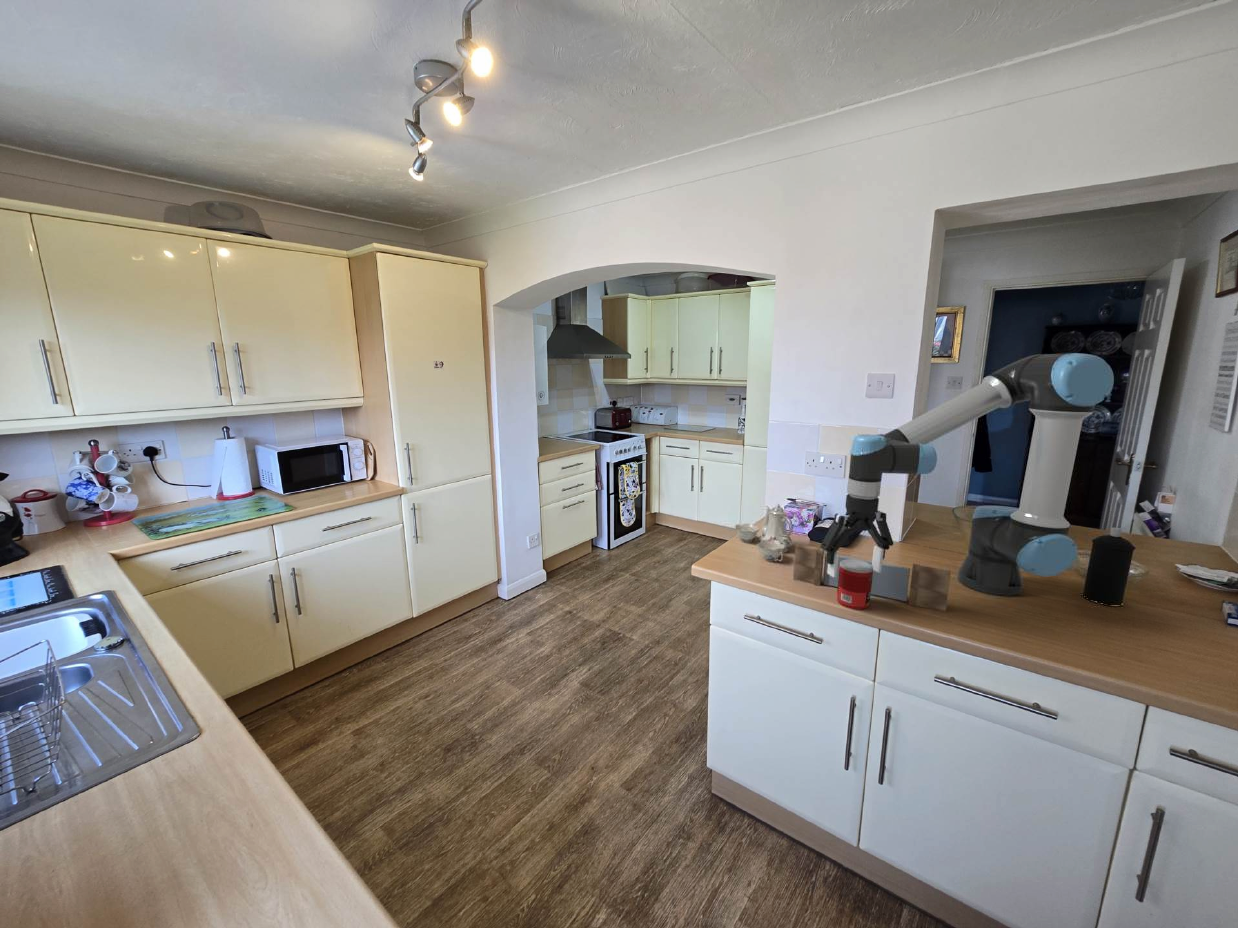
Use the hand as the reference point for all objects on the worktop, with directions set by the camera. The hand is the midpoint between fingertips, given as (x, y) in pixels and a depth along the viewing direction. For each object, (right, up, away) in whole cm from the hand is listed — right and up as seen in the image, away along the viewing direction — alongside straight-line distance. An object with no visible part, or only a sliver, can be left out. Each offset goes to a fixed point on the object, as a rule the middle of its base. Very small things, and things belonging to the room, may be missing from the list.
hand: (854, 573), depth 131 cm
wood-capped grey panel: (+6, -7, +7) cm, 12 cm away
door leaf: (+6, -7, +7) cm, 12 cm away
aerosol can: (+68, -8, +2) cm, 68 cm away
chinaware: (-11, -1, +40) cm, 42 cm away
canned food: (0, -9, +2) cm, 9 cm away
